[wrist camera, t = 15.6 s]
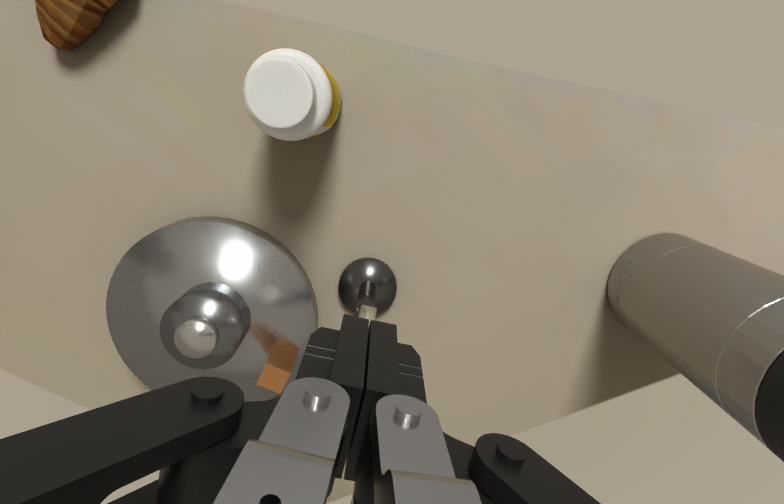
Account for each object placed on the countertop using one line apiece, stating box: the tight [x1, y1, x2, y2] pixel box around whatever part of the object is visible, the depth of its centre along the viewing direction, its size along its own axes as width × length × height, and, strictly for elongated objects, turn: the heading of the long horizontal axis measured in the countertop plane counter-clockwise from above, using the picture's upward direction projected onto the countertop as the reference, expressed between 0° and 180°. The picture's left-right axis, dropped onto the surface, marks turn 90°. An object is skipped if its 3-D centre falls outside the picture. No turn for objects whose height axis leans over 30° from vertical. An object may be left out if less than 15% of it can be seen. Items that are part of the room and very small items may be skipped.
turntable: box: [106, 217, 318, 401], centre depth 38 cm, size 17×17×6 cm
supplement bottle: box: [243, 48, 342, 141], centre depth 32 cm, size 6×6×10 cm
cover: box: [159, 282, 251, 369], centre depth 37 cm, size 6×6×4 cm
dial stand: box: [339, 258, 397, 328], centre depth 35 cm, size 5×5×12 cm
